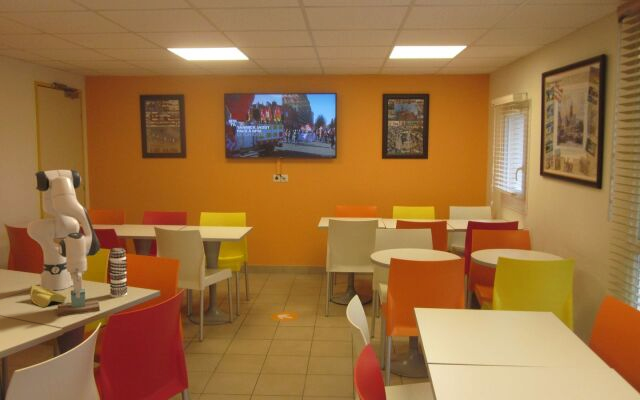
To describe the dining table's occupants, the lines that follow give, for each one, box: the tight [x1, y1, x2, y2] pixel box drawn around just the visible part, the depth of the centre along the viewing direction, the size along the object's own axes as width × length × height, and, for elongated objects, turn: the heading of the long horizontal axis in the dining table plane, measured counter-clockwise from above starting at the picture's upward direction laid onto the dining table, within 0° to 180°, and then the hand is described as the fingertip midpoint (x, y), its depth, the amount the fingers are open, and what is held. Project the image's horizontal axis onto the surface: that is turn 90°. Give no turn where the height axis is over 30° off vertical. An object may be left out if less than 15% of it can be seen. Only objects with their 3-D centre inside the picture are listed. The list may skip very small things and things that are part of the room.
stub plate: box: [56, 299, 100, 317], centre depth 243 cm, size 13×18×7 cm
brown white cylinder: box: [108, 247, 128, 298], centre depth 267 cm, size 9×9×25 cm
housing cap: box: [70, 288, 86, 308], centre depth 243 cm, size 6×6×7 cm
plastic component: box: [29, 284, 67, 308], centre depth 255 cm, size 20×7×10 cm
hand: (77, 294), depth 243 cm, fingers open, 8 cm apart
